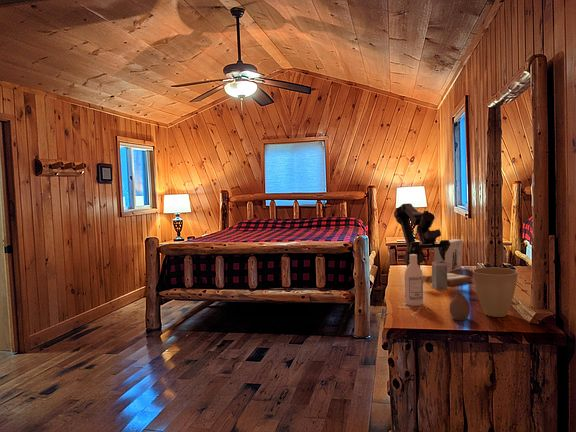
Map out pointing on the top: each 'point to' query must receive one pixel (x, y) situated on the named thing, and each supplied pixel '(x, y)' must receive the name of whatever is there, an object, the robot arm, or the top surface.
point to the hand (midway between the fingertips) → (434, 261)
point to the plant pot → (495, 289)
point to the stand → (454, 279)
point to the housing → (439, 275)
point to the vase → (459, 307)
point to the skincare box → (451, 255)
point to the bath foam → (413, 283)
